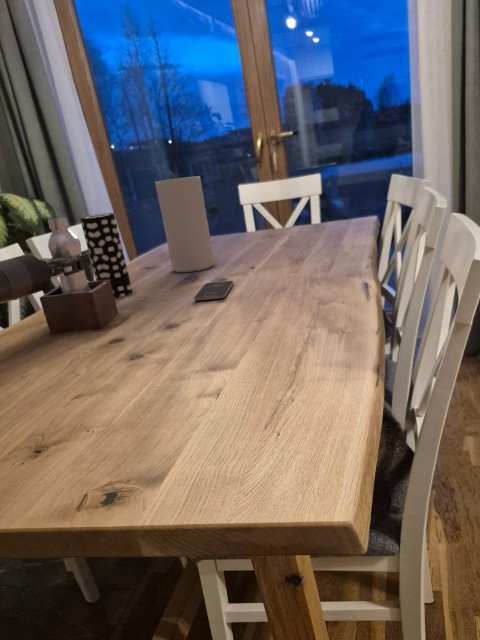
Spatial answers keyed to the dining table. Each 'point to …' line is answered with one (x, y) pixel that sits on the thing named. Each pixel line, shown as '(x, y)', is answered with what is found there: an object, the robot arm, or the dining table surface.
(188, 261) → the cylinder vase
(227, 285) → the smartphone
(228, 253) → the dining table surface
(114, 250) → the white-spotted black cylinder
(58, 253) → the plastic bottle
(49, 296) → the holder
